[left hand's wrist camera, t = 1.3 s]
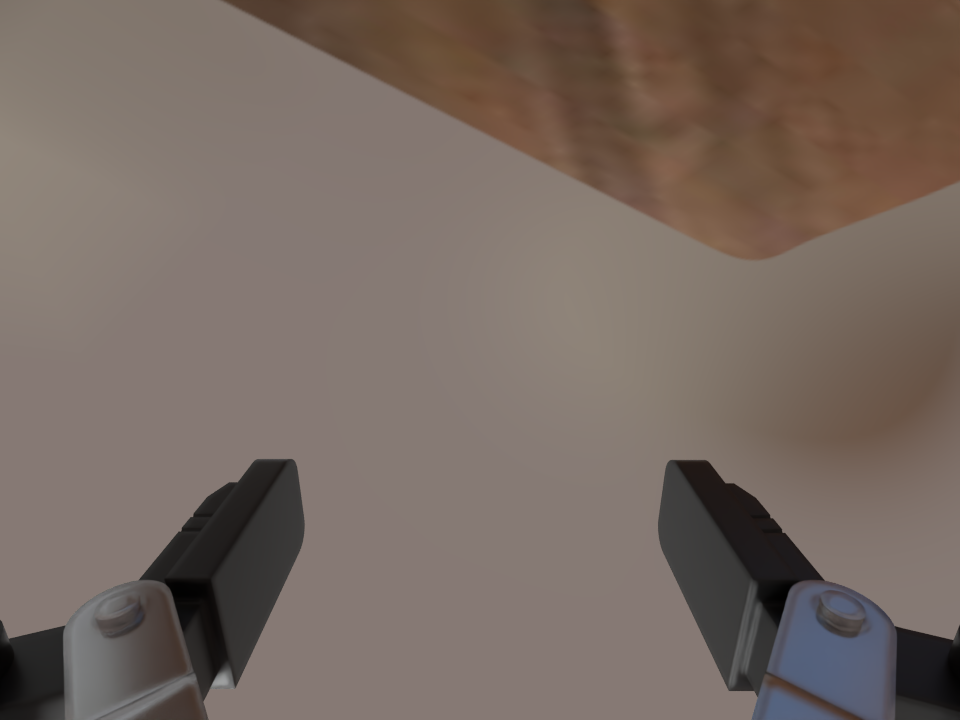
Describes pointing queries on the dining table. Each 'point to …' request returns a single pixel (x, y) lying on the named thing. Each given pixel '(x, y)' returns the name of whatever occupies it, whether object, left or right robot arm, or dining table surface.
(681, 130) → the dining table surface
